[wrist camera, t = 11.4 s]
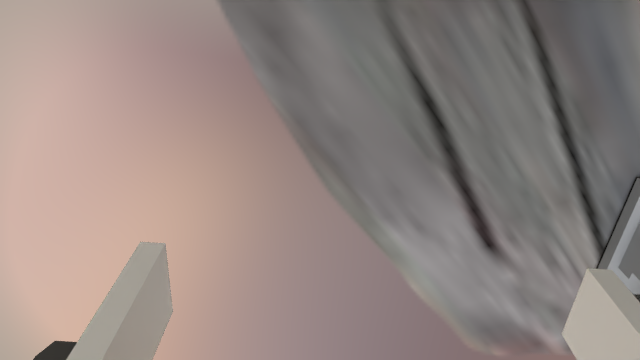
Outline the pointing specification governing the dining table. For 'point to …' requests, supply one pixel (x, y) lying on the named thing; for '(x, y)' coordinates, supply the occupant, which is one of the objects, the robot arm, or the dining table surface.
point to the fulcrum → (626, 244)
